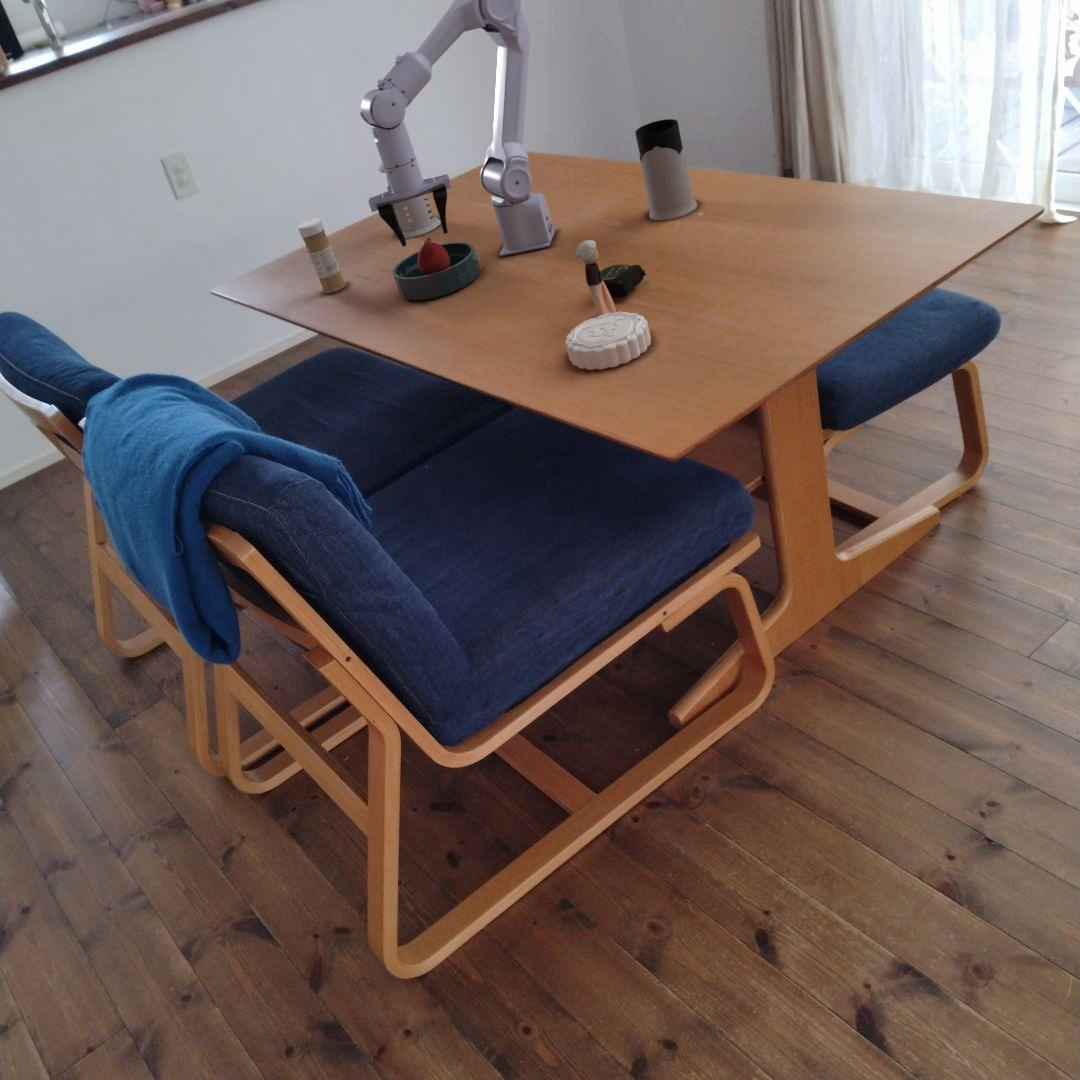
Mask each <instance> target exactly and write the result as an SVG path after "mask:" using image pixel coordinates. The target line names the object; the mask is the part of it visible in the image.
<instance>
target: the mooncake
mask: <svg viewBox="0 0 1080 1080" xmlns="http://www.w3.org/2000/svg"><path fill="white" fill-rule="evenodd" d="M565 339H566V340H565V347H566V348H565V349H566V351H567V356H568V359H569V361H571V364H572V365H573V366H575V367H577V368H578V369H581V370H584V369H586V370H588V371H593V370H599V371H601V370H606V369H608V368H610V369H611V368H616V367H618V366H620V365H625V364H628V363H630V362H631V361H632V360H635V359H638V358H639V357H640V356H641V354H644V353H645V352H646V351H647V350H648V347H650V346H651V344H652V343H651V340H652V336H651V331H650V328H649V323H648V320H647V319H645V317H644V316H643V315H642V314H641V315H640V314H638V313H636V312H628V311H616V313H606V314H604V315H601V316H599V317H597V318H596V317H592V318H590V319H587V320H583V322H581V323H579V324H578V325H576V326H575V327H574V328H572V329H571V330H570V332H569V333H568V334H567V335H566V337H565Z"/></svg>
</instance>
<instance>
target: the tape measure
mask: <svg viewBox="0 0 1080 1080" xmlns="http://www.w3.org/2000/svg"><path fill="white" fill-rule="evenodd" d="M600 273H601V277H602V280H603V282H604V284H605V285H606V287H607V289H608V291H609V294H610V296H611V298H612V300H613V299H619V298H624V297H627V296H629V294H631V292H632V291H633V290H634V289H635V288H636V287H637V286H638V285H639V284H641V283H642V282H643V280H644V277H646V270H645V269H643V268H642V266H641V265H640V264H632V265H629V264H626V263H625V264H624V263H620V264H619V263H618V264H613V265H609V266H606V267H604V268H602V269H601V270H600Z"/></svg>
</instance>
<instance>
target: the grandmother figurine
mask: <svg viewBox="0 0 1080 1080" xmlns="http://www.w3.org/2000/svg"><path fill="white" fill-rule="evenodd" d="M575 257H576V258H578V259H579V258H580V259H581V261H582V263H584V265H585V266H584V271H585V272H584V273H585V281H586V284H587V286H588V290H589V293H590V295H591V298H592V300H593V303H594V307H595V318H597V317H599V316H601V315H604V314H606V313H616V312H617V308H616V306H615V303H614V300H613V299H612V298H611V296H610V294H609V291H608V289H607V287H606V285H605V284H604V282H603V280H602V277H601V273H600V271H601V270H600V267H599V264H598V263H597V261H598V260H599V257H600V255H599V252H598V249H597V242H596V241H595V240H593V239H588V240H583V241H581V243H579V245H578V247H577V250H576V253H575Z"/></svg>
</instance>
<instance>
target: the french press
mask: <svg viewBox="0 0 1080 1080" xmlns="http://www.w3.org/2000/svg"><path fill="white" fill-rule="evenodd" d="M377 171H379V172H380V173H381V174H382V173H383V174H386V172H385V169H384V166H383V163H382V162H381V163H380V165H379V166H378V169H377ZM386 181H387V184H388V185H387V188H386V189H387V191H389V190H391V187H390V184H389V181H388V178H387V177H386ZM393 207H394V210H395V214H396V217H397V220H398V223H399V225H400V228H401V230H402V232H403V235H404V237H405V239H409V238H410V239H411V238H414V237H418V236H421V235H423V234H426V233H429V232H431V231H433V230H434V229H436V228H437V227H438V226H440V225H441V220H440V218H438V217H436V216H435V215H434V211H433V208H432V205H431V202H430V199H429V195H428V194H425V195H422V196H419V197H416V198H413V199H409V200H406V201H403V202H400V203H397V204H393ZM405 208H406V209H405ZM407 214H409V215H407Z"/></svg>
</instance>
